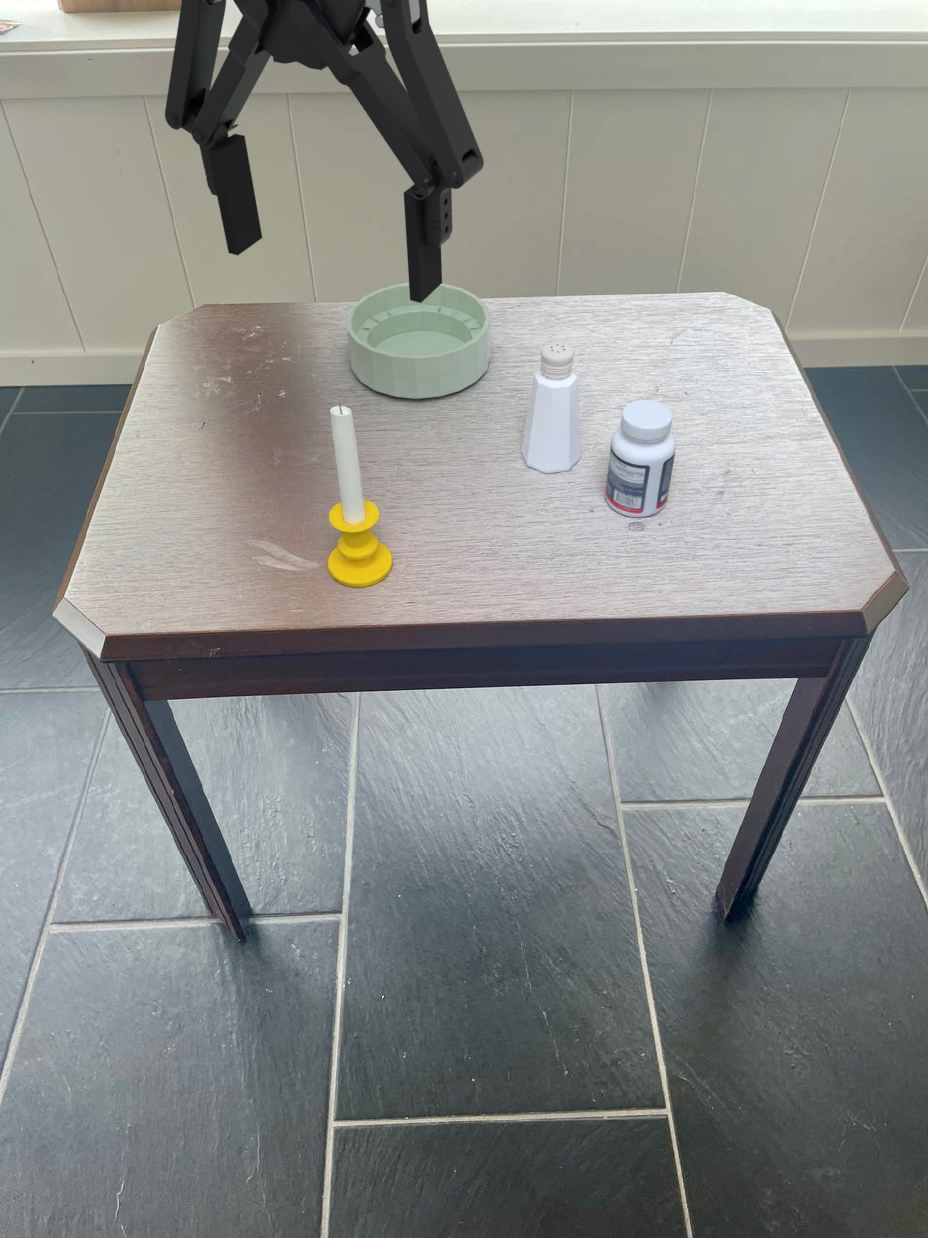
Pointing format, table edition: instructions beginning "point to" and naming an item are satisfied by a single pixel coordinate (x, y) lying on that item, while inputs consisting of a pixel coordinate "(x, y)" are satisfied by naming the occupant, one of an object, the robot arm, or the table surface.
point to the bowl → (419, 341)
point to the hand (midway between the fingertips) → (332, 268)
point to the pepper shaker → (553, 412)
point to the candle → (354, 514)
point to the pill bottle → (641, 459)
